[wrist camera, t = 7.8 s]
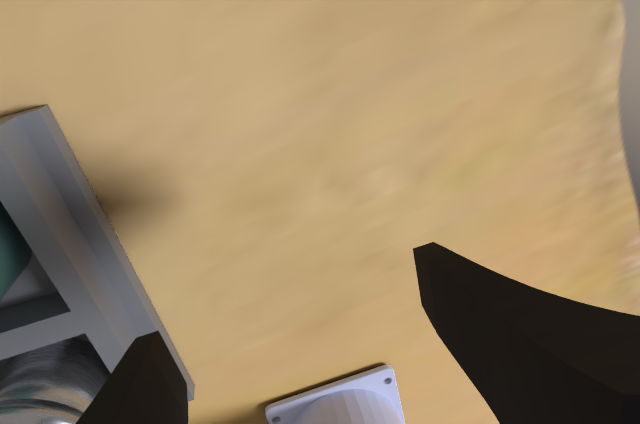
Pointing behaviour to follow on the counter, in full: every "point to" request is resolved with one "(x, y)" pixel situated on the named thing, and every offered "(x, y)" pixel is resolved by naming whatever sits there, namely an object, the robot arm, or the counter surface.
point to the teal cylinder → (11, 251)
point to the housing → (62, 282)
